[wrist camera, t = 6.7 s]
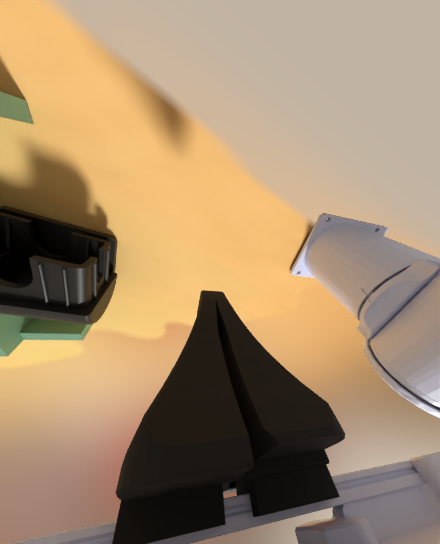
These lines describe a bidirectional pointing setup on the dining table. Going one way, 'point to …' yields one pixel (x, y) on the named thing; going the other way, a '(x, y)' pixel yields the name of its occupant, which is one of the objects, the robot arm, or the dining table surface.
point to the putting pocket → (14, 329)
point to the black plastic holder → (54, 269)
